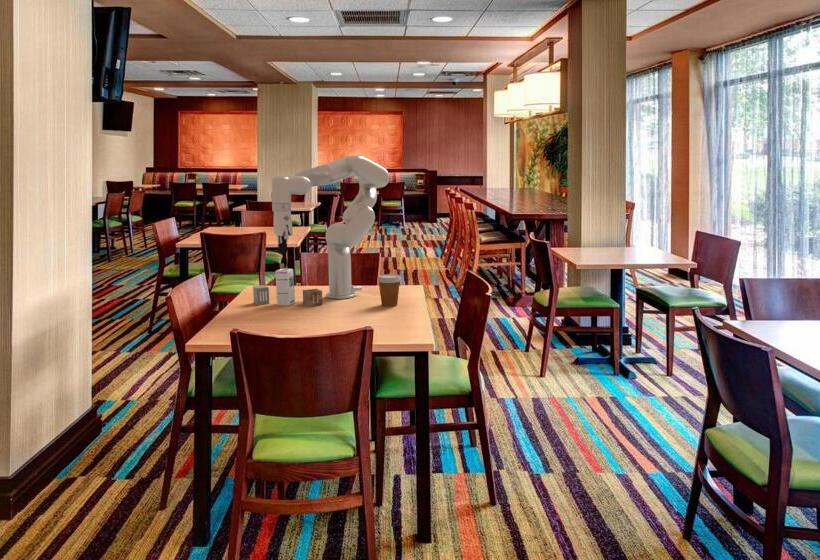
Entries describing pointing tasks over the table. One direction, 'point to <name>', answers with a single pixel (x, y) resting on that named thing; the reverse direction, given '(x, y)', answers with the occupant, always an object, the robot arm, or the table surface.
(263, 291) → the slate block
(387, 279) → the disposable coffee cup
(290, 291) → the syrup box
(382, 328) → the table surface
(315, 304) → the walnut cube
